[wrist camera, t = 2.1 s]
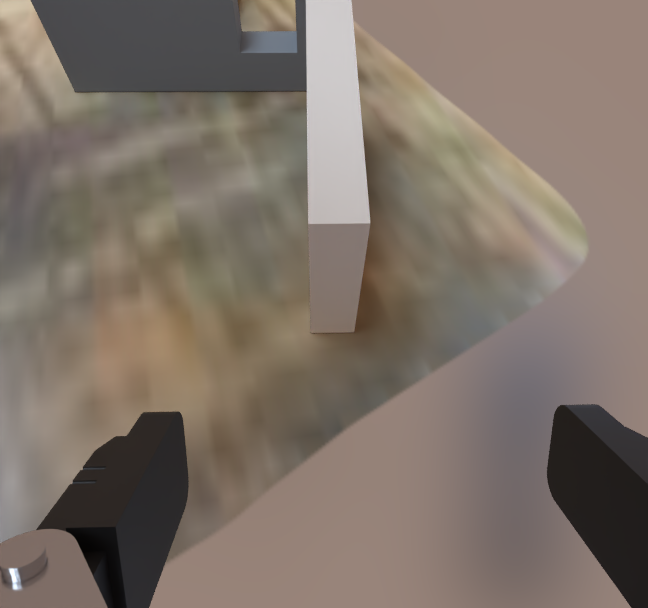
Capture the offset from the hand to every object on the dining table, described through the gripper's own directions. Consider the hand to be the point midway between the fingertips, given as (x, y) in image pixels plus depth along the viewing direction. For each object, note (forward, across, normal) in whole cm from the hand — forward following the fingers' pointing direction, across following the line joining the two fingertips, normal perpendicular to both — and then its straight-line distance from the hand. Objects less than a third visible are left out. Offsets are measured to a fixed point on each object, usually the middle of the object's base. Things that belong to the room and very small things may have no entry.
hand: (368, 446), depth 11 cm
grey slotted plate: (+33, +9, -12) cm, 37 cm away
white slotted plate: (+24, 0, -2) cm, 24 cm away
